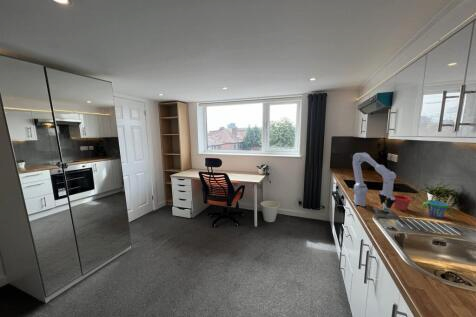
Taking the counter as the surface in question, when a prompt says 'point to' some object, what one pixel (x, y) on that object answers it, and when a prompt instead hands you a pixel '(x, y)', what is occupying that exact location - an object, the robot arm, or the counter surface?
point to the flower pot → (401, 202)
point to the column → (385, 207)
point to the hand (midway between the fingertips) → (385, 205)
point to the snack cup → (436, 208)
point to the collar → (385, 213)
